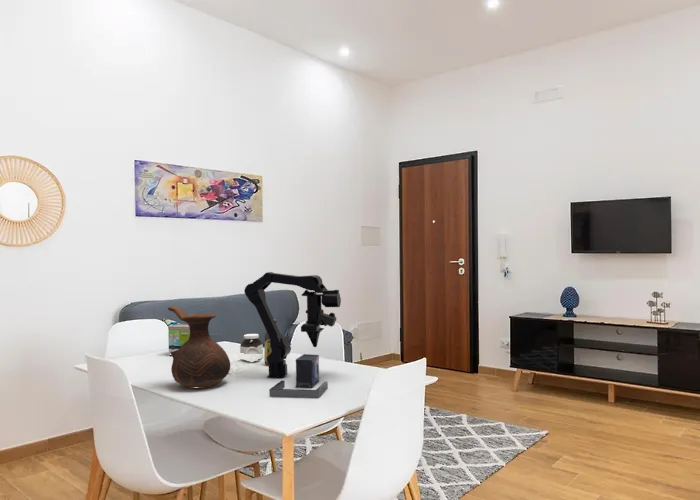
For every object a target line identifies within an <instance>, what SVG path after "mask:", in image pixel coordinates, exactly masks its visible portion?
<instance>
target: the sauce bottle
mask: <svg viewBox="0 0 700 500" xmlns="http://www.w3.org/2000/svg"><path fill="white" fill-rule="evenodd" d="M273 319H274V318H273ZM274 321H275V323H276V324H277V319H274ZM271 352H272V351H271V347H270V338H269V335H268V333H267V331H266V332H265V335H264V350H263V355H264V357H263V359H264V366H269V363H268V361H267V359H266V358H267V356H268V355H269V354H270V353H271Z"/></svg>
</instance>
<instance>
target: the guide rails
mask: <svg viewBox="0 0 700 500" xmlns="http://www.w3.org/2000/svg"><path fill="white" fill-rule="evenodd" d="M285 381H286V380H283V379H282V380H280V381H279V382H277V383H276V384H274V385H273V386H272V387H271V388H269V392H268V395H269V398H293V399H294V398H295V399H296V398H299V399H302V398H304V399H320V398H321V396H322V395H323V394H325V392H326V391H327V390H328V389H329V388H328V382H329V381H327V380H326V381H323V382H322V383H321V384H319V386H318V387H317V388H316V389H304V388H301V389H300V388H299V389H297V388H296V389H295V388H294V389H293V388H292V389H291V388H285V387H286V386H285V384H286V383H285Z"/></svg>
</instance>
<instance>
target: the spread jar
mask: <svg viewBox="0 0 700 500" xmlns="http://www.w3.org/2000/svg"><path fill="white" fill-rule="evenodd" d="M263 345H264V344H263V341H262V340H261V339H260V335H259V333H246V334H244V335H243V340H242V341H241V343H240V344H239V346H240V347H239V352H240V353H244V354H263V355H264V346H263ZM240 353H239V354H240Z"/></svg>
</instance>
